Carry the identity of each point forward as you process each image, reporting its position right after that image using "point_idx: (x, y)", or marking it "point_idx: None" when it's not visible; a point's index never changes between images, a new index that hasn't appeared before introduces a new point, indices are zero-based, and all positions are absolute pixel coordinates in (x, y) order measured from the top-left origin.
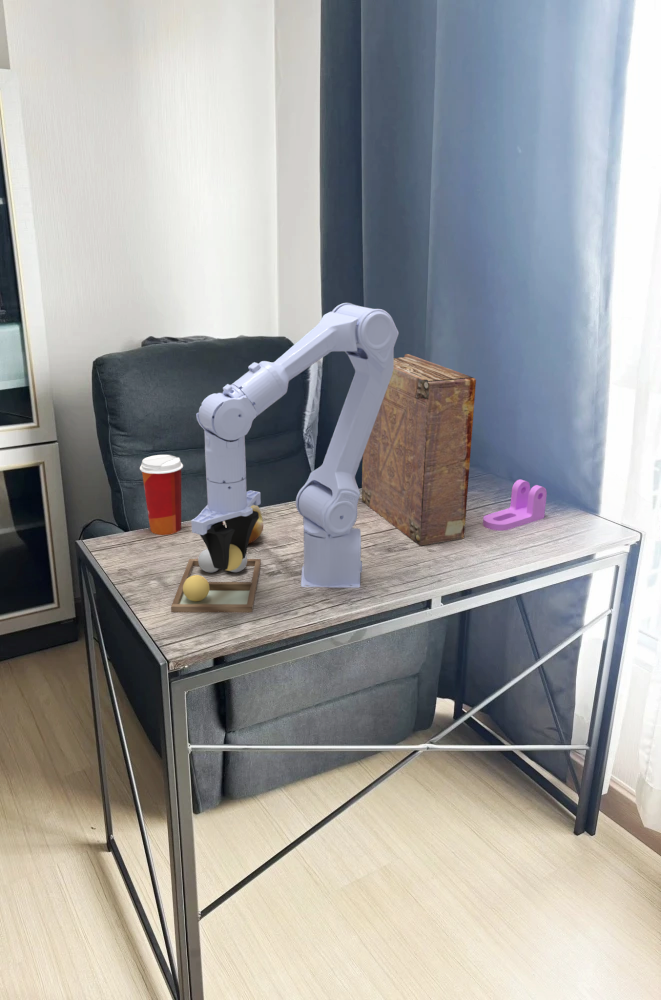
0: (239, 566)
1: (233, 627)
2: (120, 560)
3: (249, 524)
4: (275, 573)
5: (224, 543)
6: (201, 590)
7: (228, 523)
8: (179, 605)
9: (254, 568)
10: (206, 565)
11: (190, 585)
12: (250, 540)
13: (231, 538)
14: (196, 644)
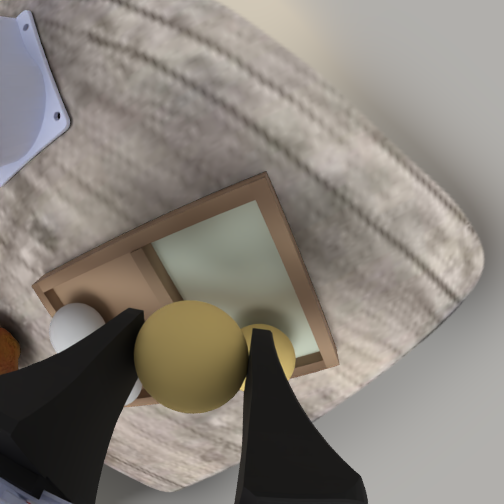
0: (89, 314)
1: (347, 191)
2: (181, 465)
3: (44, 408)
4: (43, 231)
5: (323, 438)
6: (279, 343)
7: (96, 465)
8: (329, 353)
9: (67, 279)
10: (138, 378)
11: (289, 375)
12: (4, 333)
13: (117, 405)
14: (444, 240)
